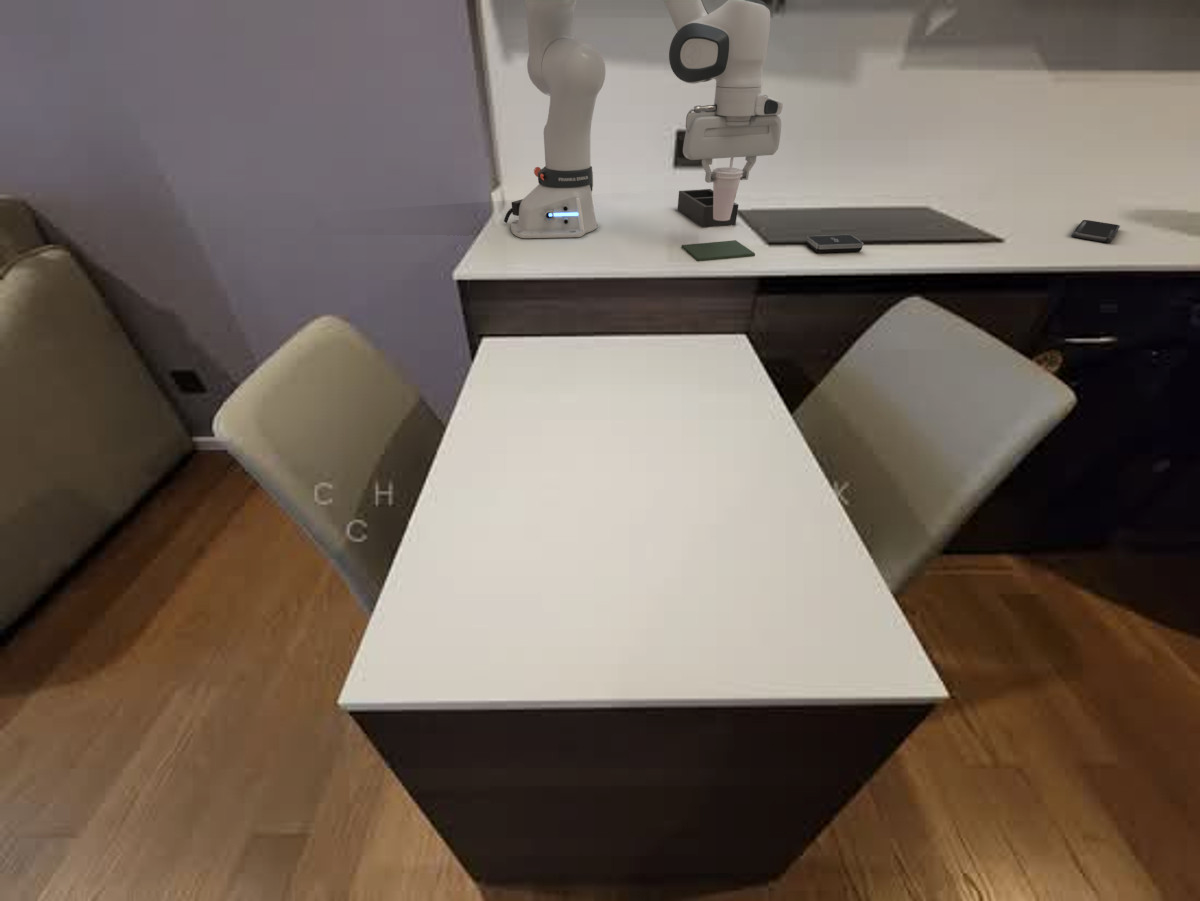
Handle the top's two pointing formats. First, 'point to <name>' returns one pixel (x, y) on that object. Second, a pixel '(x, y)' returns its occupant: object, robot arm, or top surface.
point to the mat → (717, 250)
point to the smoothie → (725, 191)
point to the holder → (702, 208)
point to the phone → (1096, 231)
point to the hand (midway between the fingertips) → (726, 180)
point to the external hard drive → (834, 243)
